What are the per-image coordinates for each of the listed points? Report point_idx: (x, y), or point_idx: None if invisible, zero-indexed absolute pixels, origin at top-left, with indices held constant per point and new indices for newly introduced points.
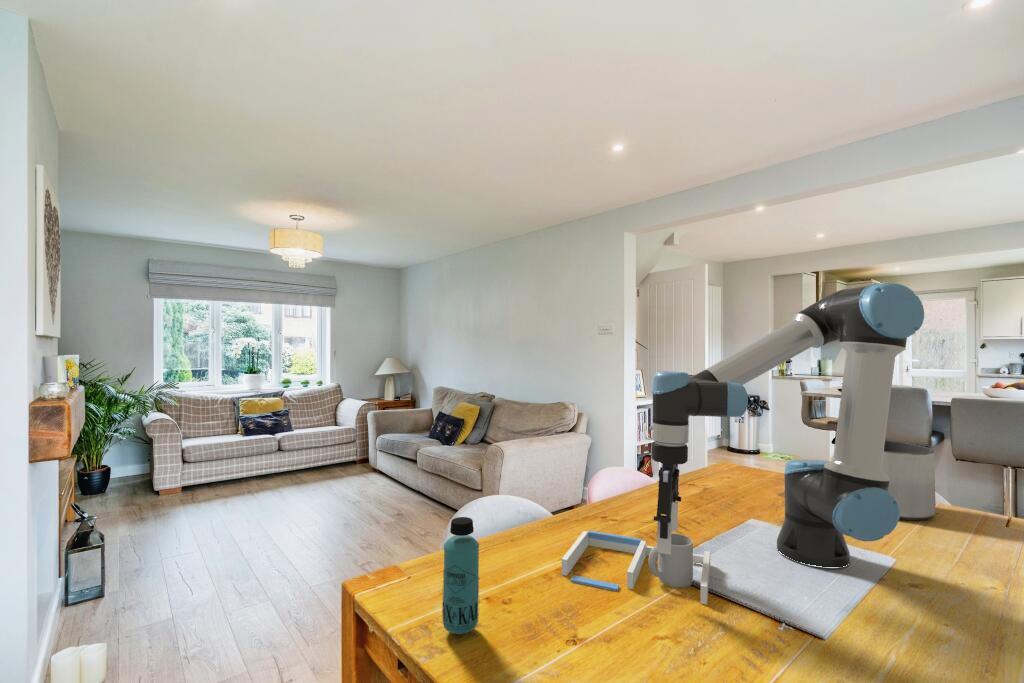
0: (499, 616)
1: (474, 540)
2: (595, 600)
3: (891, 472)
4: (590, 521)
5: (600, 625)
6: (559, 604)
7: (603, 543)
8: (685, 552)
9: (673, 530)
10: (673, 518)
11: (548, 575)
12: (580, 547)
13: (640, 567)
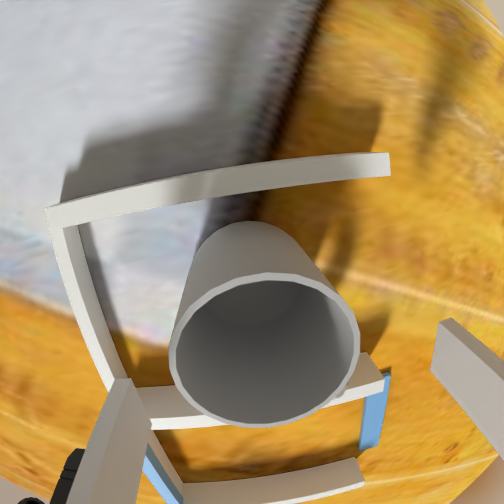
0: None
1: None
2: (432, 381)
3: None
4: None
5: (496, 331)
6: (452, 407)
7: (171, 472)
8: (326, 280)
9: (137, 395)
10: (121, 444)
11: (363, 469)
12: (253, 494)
13: None
